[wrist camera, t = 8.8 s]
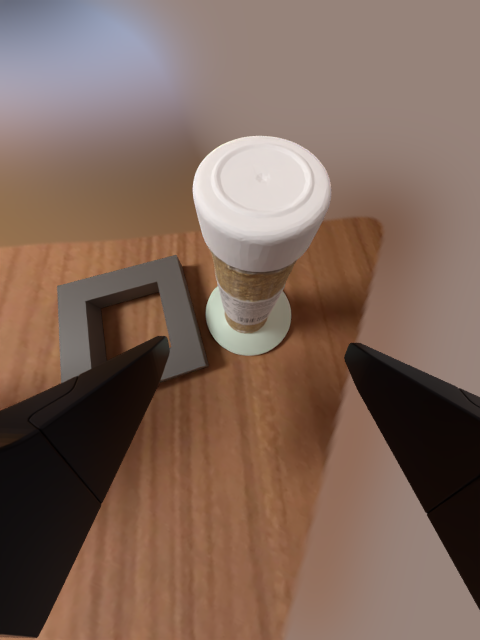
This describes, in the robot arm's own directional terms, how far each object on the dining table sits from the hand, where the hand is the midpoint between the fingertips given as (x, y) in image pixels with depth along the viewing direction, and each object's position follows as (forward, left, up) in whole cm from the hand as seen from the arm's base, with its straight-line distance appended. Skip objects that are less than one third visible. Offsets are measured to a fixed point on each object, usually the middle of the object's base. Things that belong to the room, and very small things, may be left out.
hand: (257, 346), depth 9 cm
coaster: (+5, -2, -9) cm, 11 cm away
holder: (+7, +10, -9) cm, 15 cm away
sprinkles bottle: (+4, -1, -9) cm, 10 cm away
